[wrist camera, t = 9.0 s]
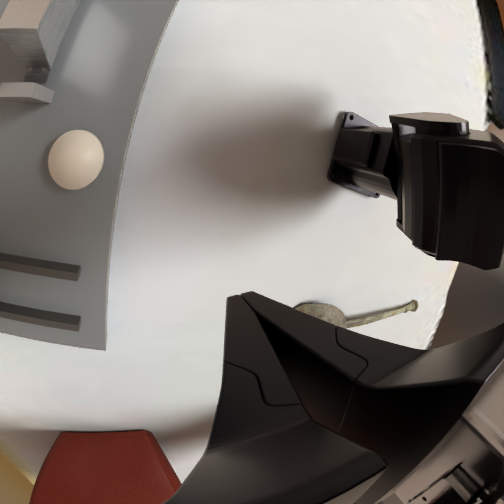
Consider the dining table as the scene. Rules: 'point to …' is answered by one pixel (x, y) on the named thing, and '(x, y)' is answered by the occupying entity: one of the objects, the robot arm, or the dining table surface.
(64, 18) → the light grey piece
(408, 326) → the dining table surface
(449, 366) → the robot arm
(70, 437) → the plant pot
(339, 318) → the soupspoon
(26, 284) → the control panel
